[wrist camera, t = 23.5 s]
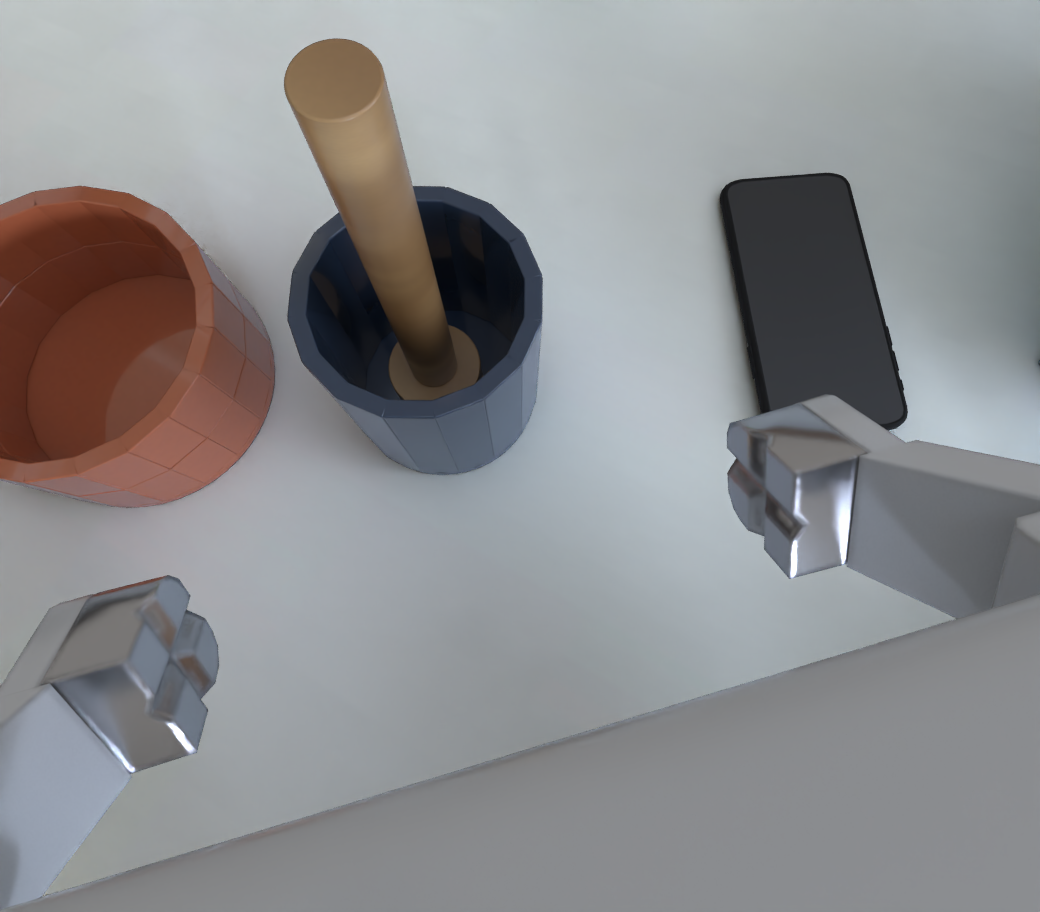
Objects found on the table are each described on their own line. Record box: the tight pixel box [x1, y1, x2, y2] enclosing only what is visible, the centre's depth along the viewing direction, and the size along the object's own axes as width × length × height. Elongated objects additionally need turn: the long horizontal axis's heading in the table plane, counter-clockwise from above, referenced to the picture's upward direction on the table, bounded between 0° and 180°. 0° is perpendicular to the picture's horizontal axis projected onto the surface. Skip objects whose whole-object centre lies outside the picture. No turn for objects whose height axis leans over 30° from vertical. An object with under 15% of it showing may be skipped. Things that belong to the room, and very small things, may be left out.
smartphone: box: [720, 173, 908, 431], centre depth 34 cm, size 7×1×15 cm
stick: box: [284, 39, 483, 400], centre depth 23 cm, size 4×4×19 cm
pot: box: [0, 186, 275, 508], centre depth 30 cm, size 13×13×7 cm
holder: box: [287, 186, 543, 475], centre depth 29 cm, size 9×9×10 cm
